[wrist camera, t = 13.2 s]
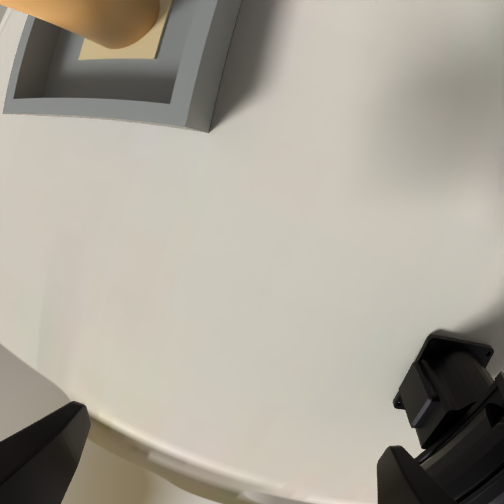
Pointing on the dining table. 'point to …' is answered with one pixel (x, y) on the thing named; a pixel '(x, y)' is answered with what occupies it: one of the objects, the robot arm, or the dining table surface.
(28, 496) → the robot arm
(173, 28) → the gray square tray
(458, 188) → the dining table surface
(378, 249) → the dining table surface
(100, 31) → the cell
